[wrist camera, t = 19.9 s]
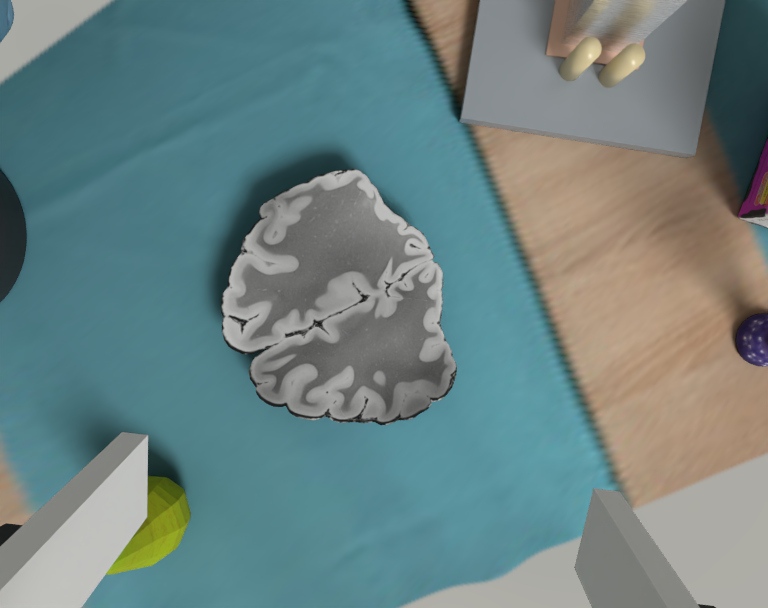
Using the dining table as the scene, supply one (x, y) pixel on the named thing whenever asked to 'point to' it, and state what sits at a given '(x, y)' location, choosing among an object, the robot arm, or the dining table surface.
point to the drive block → (615, 21)
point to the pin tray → (591, 77)
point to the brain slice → (339, 306)
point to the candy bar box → (757, 194)
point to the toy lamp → (754, 340)
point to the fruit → (156, 526)
